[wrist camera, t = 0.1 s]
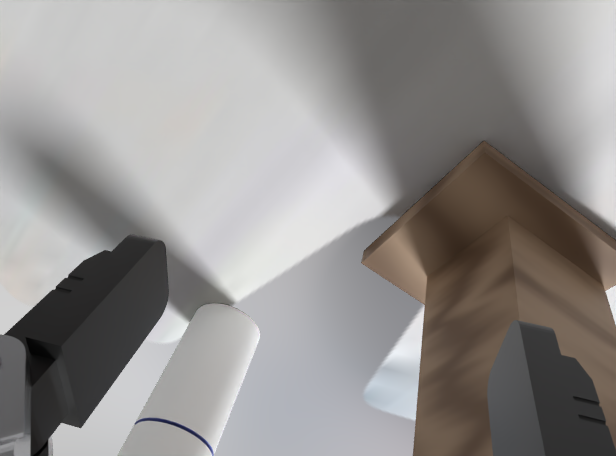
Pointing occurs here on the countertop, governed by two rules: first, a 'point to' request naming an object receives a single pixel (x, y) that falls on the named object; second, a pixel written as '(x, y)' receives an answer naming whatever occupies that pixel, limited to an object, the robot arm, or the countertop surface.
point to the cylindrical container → (196, 386)
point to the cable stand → (496, 291)
